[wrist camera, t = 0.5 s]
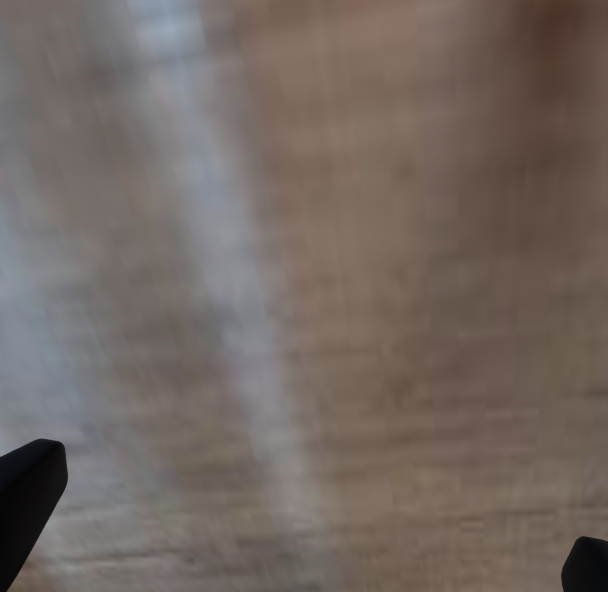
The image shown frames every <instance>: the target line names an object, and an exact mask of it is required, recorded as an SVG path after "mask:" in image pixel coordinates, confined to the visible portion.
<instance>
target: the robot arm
mask: <svg viewBox="0 0 608 592" xmlns="http://www.w3.org/2000/svg"><path fill="white" fill-rule="evenodd" d="M67 481H68V472H67V463H66V454H65V447H64V445H63V444H62V443H61V442H59V441H54V440H48V439H37V440H34V441H32V442H30V443H28V444H26V445H24V446H22V447H20V448H18V449H16V450H14V451H12V452H10V453H8V454H6V455H3V456H1V457H0V592H7V590H8V589H9V587H10V586H11V584H12V583H13V581H14V580H15V578H16V576H17V575H18V573H19V571H20V570H21V568H22V566H23V565H24V563H25V561H26V559H27V557H28V556H29V554H30V552H31V550H32V548H33V547H34V545H35V543H36V541H37V539H38V537H39V536H40V534H41V532H42V530H43V528H44V527H45V525H46V523H47V521H48V519H49V517H50V516H51V514H52V512H53V510H54V508H55V507H56V505H57V503H58V501H59V499H60V497H61V496H62V494H63V492H64V490H65V488H66V485H67ZM561 580H562V587H563V591H564V592H608V541H605V540H602V539H596V538H591V537H585V536H582V537H580V538H578V539H577V540H576V541H575V544H574V546H573V548H572V550H571V552H570V554H569V556H568V558H567V560H566V562H565V564H564V566H563V568H562V573H561Z"/></svg>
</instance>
